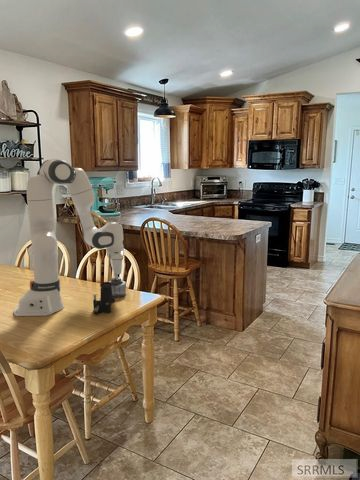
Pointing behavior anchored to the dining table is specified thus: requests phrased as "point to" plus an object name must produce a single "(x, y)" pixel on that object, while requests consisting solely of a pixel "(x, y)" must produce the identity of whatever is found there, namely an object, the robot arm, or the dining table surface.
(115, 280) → the cap
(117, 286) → the grey short cylinder
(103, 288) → the scope
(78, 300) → the dining table surface
